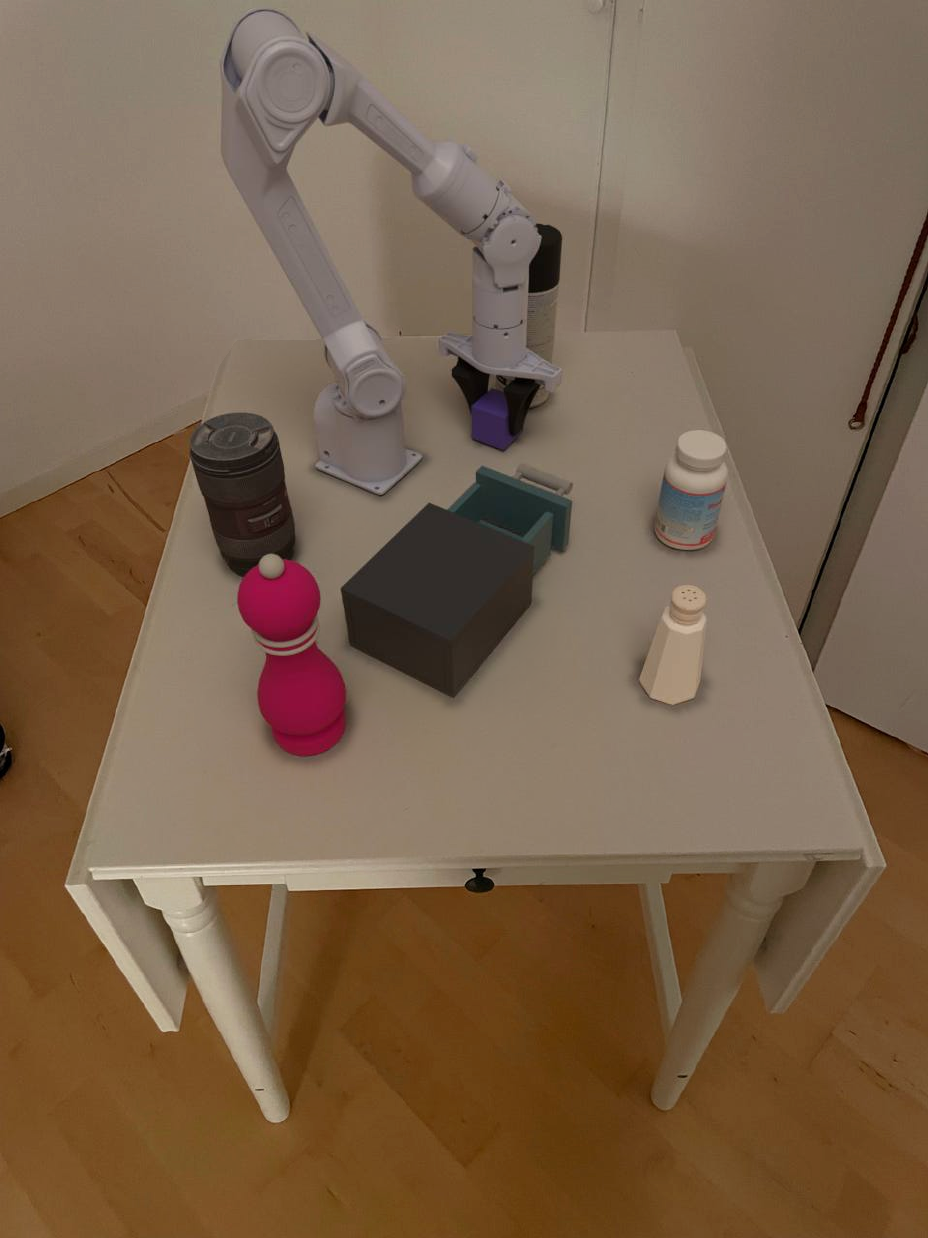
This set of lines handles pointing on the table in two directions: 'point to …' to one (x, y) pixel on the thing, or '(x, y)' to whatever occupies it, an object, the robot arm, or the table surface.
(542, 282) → the spray can
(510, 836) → the table surface
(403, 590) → the dark drawer box
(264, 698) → the pepper mill
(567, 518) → the teal drawer
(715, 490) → the pill bottle
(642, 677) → the salt shaker
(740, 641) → the table surface
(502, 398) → the purple upright block
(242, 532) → the camera lens
